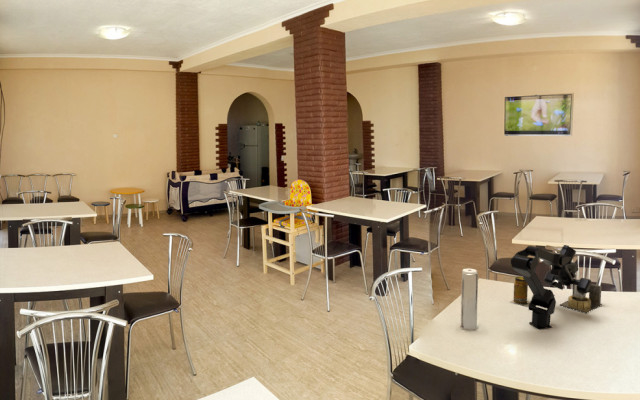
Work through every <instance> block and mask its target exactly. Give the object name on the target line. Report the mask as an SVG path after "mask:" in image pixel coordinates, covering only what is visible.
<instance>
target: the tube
mask: <svg viewBox="0 0 640 400" xmlns="http://www.w3.org/2000/svg"><path fill="white" fill-rule="evenodd" d="M586 295H587V293H586V294H585V293H584V295H581V294H580V293H578V291H577V285H575V290H574V300H576V301H585V297H587V296H586Z"/></svg>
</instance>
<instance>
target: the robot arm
mask: <svg viewBox="0 0 640 400" xmlns="http://www.w3.org/2000/svg"><path fill="white" fill-rule="evenodd" d="M576 254H577V251H576V250H575V249H574V248H573V247H571V246H570V245H567V244H563V245H562V247H561V249H560V251H559V252H558V253H557V252H553V251H548V250H546V249H543V248H540V247H539V246H534V245H528V246H527V247H526V248H524V249H522V250H519V251H517V252H516V253H515V254H514V255H513V256H512V257H511V260H510V266H511V268H512V269H513V270H514V271H515V272H517V273H518V274H519V275H521V277H524V279H525V281H526V283H527V284H528V288H529V289H530V291H531V293H532V294H533V295H532V297H531V300H530V303H529V306H527V307H528V311H530V312H531V313H532V314H531V321H530V322H529V323H528V324H529V325H530V326H533V327H535V328H536V329H538V330H544V329H552V328H553V325H551V316H552V315H553V314H555V309H556V304H557V301H556V298H555V297H556V295H555V294H554V292H553V291H552V289H549V288H545V287H544V285H543V283H542V282H541V280H540V278H539V275H538V274H537V273H536V271H535V269H536V267H537V266H538V265H540V263H539V262H540V261H539V260H542V261H543V263H544V264H545V265H547V266H551V269H549V270H548V271H546V274H545V276H544V278H543V281H544V283H545V284H547V285H549V286H552V287H554V288H557V289H559V290H562V291H563V290H564V287H563V286H566V287H570V286H571V285H573V284H574V285H577V291H578V293H580V294H581V295H584V293H585V294H586V295H587V294H589V293H588V291H589V289H590V287H591V285H592V284H593V282H592V280H591V279H589V278H586V277H580V279H576V276H577V275H576V273H577V272H578V271H579V265H578V263H576V262H574V261H573V259H574V257H575V255H576ZM529 256H530V257H529Z"/></svg>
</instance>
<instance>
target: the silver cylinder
mask: <svg viewBox="0 0 640 400" xmlns="http://www.w3.org/2000/svg"><path fill="white" fill-rule="evenodd" d="M478 287H479V272H478V270H477V269H474V268H469V267H468V268H463V269H462V271H461V293H460V294H461V295H460V297H461V298H460V327H461V329H463V330H467V331H475V330H476V329H477V328H478V297H479V296H478V295H479V293H478V289H479V288H478Z"/></svg>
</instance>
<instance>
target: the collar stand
mask: <svg viewBox="0 0 640 400" xmlns="http://www.w3.org/2000/svg"><path fill="white" fill-rule="evenodd" d="M602 287H603V286H602V285H598V284H593V283H592V285H591V287H590V289H589V291H588V293H587V294H588V297H587V296H586V297H585V301H576V300H574V290H575V285H574V284H572V293H571V294H572V295H569V296H568V299H567V300H566V301H564V302H562V303H560V304H559V306H560V307H562V306H563V307H562V308H566V307H567V309H569V308H571V309H570V310H573V309H574V310H573V311H576V310H577V312H580V311H581V312H580V313H583V312H585V313H584V314H588V313H590V312H591V310H592V311H594V310H596V309H597V308H596V307H598V306H599V307H601V306H602V303H601V301H602ZM600 305H601V306H600ZM599 307H598V308H599ZM595 308H596V309H595ZM593 309H594V310H593ZM589 311H590V312H589ZM587 312H588V313H587Z"/></svg>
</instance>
